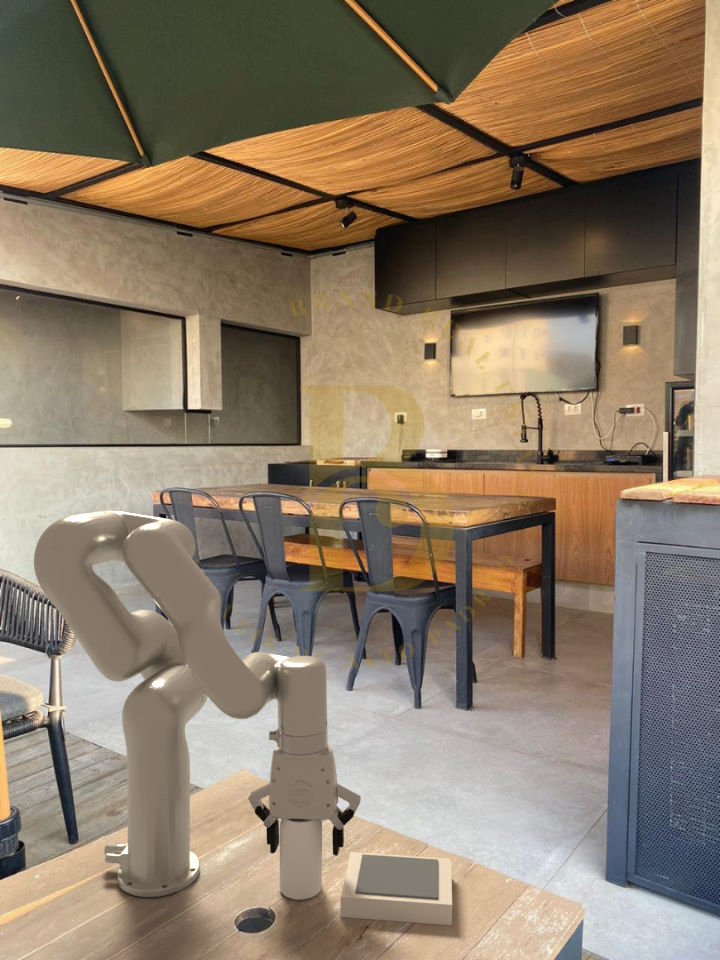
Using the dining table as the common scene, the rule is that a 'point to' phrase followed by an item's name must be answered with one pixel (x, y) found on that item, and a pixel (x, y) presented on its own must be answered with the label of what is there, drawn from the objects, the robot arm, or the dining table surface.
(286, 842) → the can
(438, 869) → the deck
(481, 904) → the dining table surface
